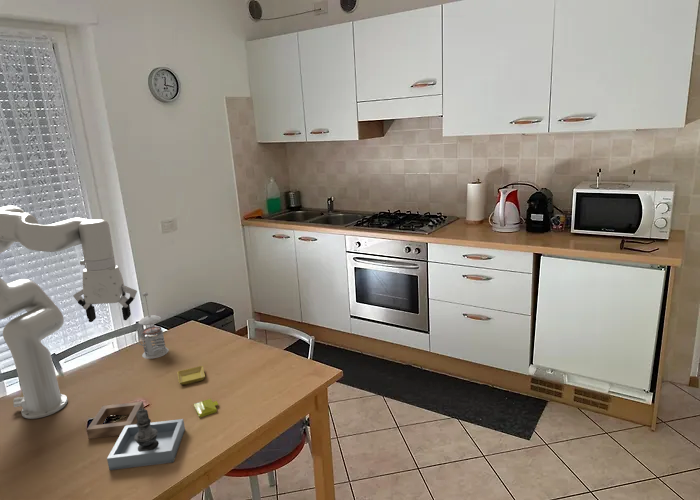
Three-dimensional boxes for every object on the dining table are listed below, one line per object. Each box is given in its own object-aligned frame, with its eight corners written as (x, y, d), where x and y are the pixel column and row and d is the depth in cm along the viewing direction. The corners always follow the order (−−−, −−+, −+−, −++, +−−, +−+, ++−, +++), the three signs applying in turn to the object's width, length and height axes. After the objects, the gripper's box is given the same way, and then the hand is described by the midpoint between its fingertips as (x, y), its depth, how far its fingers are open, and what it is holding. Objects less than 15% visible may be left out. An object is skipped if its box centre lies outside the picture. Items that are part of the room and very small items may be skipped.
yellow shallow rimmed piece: (206, 381, 165) (205, 376, 164) (179, 388, 162) (178, 382, 161) (203, 370, 173) (202, 365, 172) (178, 376, 170) (177, 371, 169)
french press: (174, 350, 190) (164, 290, 183) (148, 363, 180) (137, 300, 174) (158, 345, 195) (148, 286, 188) (132, 357, 185) (120, 296, 179)
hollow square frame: (88, 438, 137) (86, 429, 136) (104, 414, 149) (102, 405, 148) (132, 433, 138) (130, 424, 138) (144, 409, 150) (142, 401, 149)
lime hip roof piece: (188, 408, 151) (186, 400, 150) (217, 398, 155) (216, 390, 154) (195, 424, 142) (194, 416, 141) (226, 413, 147) (225, 405, 146)
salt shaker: (151, 454, 128) (144, 414, 125) (131, 452, 129) (123, 412, 126) (164, 439, 133) (156, 401, 130) (144, 438, 134) (137, 400, 131)
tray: (109, 470, 124) (106, 458, 123) (127, 436, 137) (125, 425, 136) (173, 462, 125) (171, 450, 124) (185, 429, 139) (183, 418, 138)
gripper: (62, 269, 132) (73, 326, 137) (126, 265, 133) (135, 323, 138) (74, 261, 139) (84, 316, 144) (136, 258, 141) (144, 312, 145)
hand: (109, 319), depth 141 cm, fingers open, 9 cm apart
